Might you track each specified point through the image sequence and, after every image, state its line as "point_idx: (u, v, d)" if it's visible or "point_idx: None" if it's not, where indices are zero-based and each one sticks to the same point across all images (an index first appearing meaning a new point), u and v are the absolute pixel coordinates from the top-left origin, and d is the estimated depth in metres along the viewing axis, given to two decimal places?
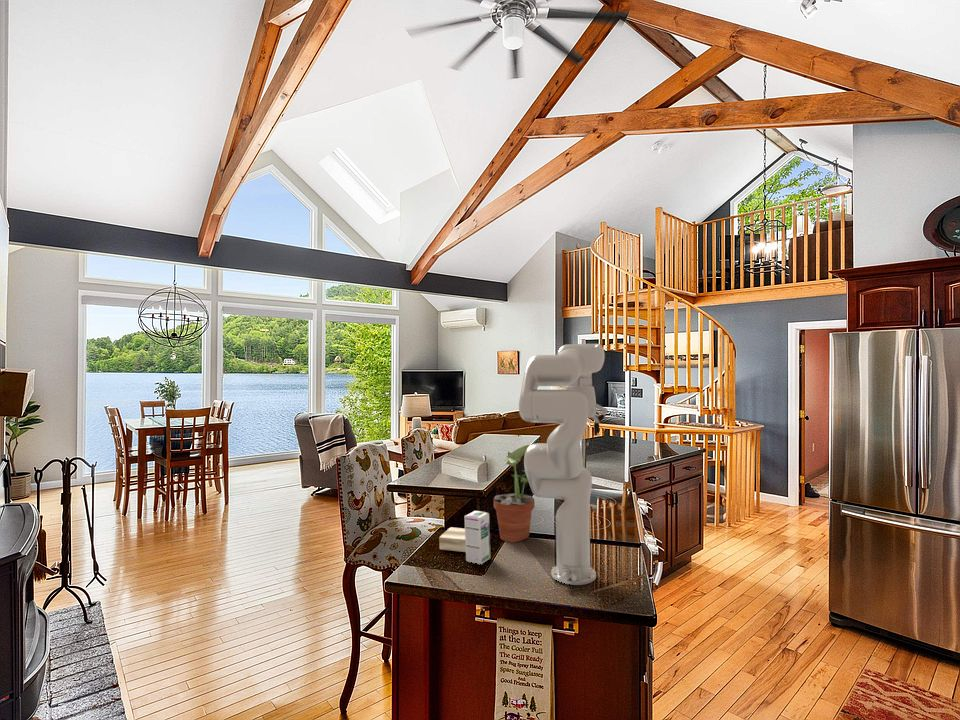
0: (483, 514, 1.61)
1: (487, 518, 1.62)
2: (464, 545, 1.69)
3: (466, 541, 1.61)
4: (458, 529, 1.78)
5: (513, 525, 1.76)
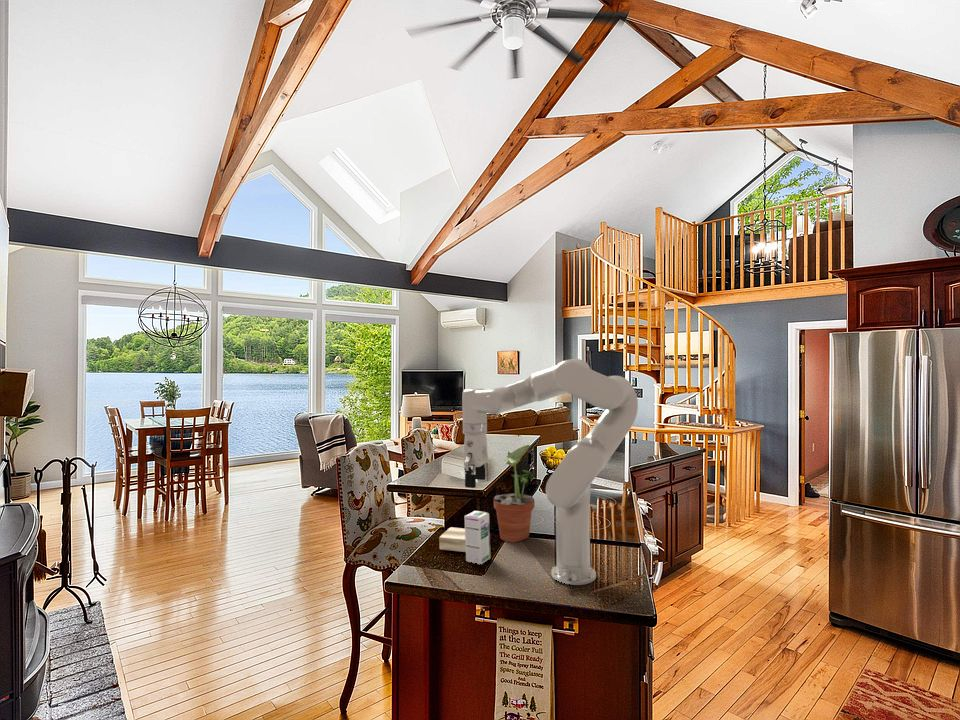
0: (483, 514, 1.61)
1: (487, 518, 1.62)
2: (464, 545, 1.69)
3: (466, 541, 1.61)
4: (458, 529, 1.78)
5: (513, 525, 1.76)
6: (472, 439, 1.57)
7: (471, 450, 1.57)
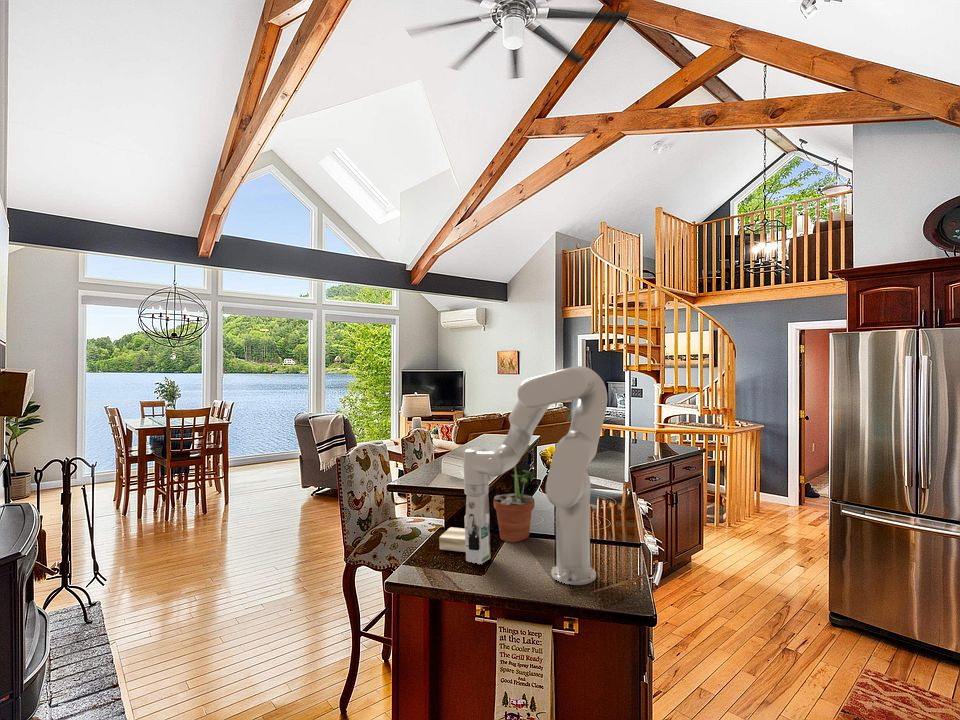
0: None
1: (487, 518, 1.62)
2: (464, 545, 1.69)
3: (466, 541, 1.61)
4: (458, 529, 1.78)
5: (513, 525, 1.76)
6: (474, 500, 1.57)
7: (473, 511, 1.57)
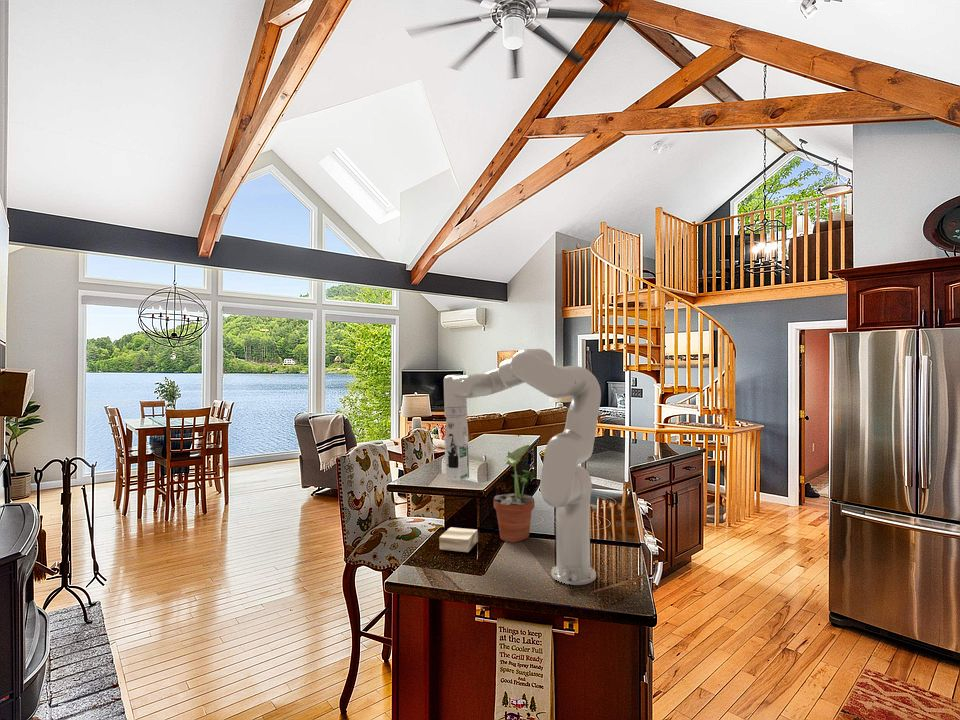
0: None
1: (465, 440, 1.74)
2: (464, 545, 1.69)
3: (446, 461, 1.73)
4: (458, 529, 1.78)
5: (513, 525, 1.76)
6: (453, 421, 1.69)
7: (452, 431, 1.69)
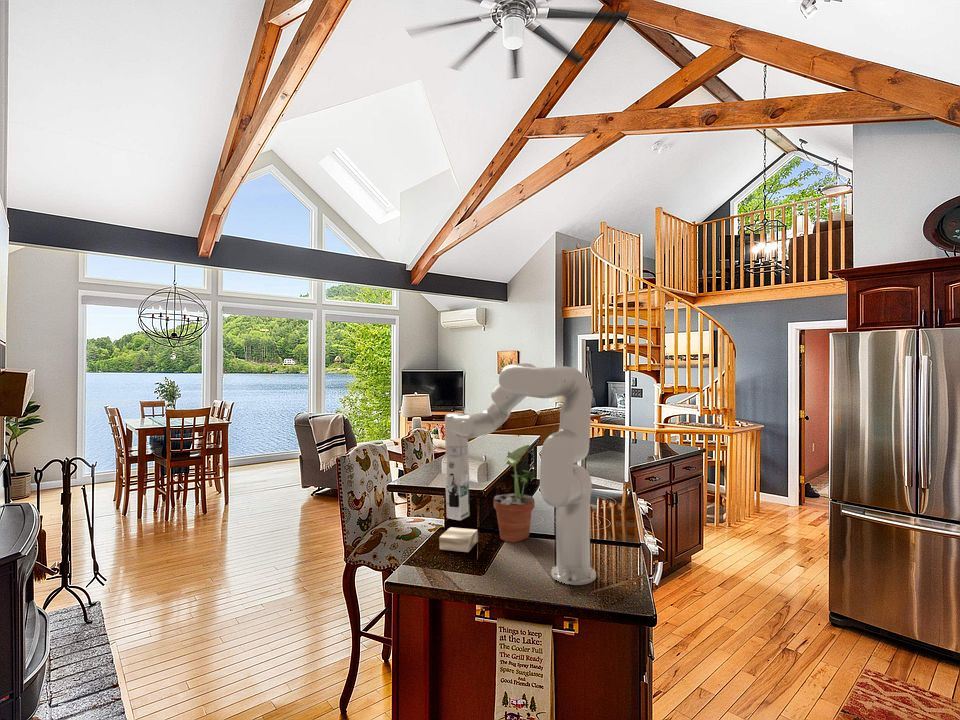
0: None
1: (466, 478, 1.74)
2: (464, 545, 1.69)
3: (447, 499, 1.73)
4: (458, 529, 1.78)
5: (513, 525, 1.76)
6: (454, 461, 1.69)
7: (453, 471, 1.69)
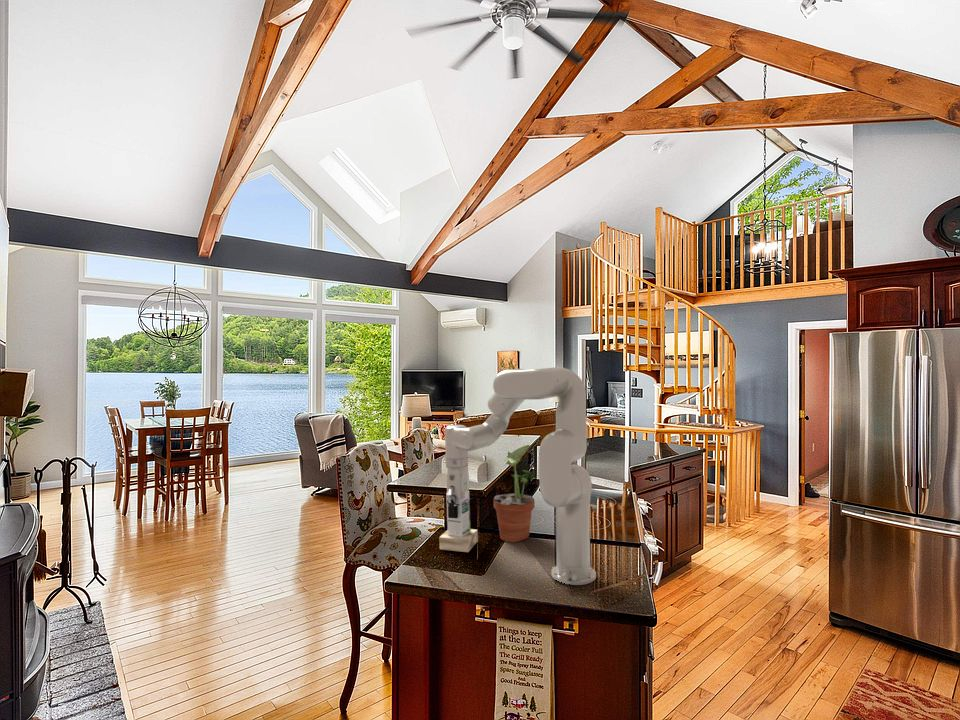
0: None
1: (467, 494, 1.74)
2: (464, 545, 1.69)
3: None
4: None
5: (513, 525, 1.76)
6: (454, 473, 1.70)
7: (453, 483, 1.69)
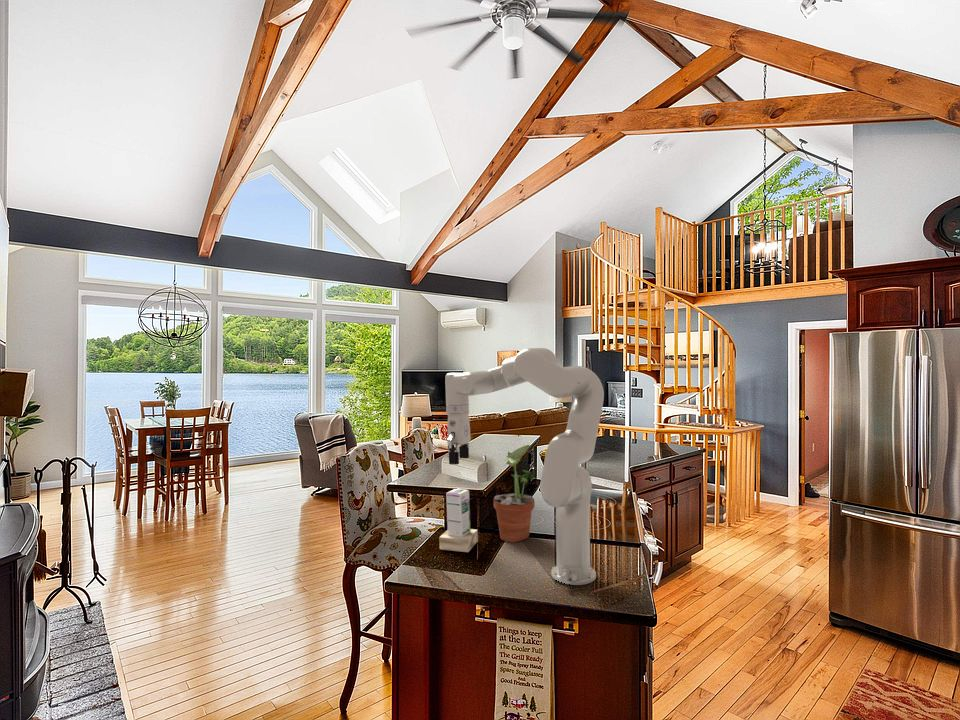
0: (463, 491, 1.74)
1: (467, 494, 1.74)
2: (464, 545, 1.69)
3: (448, 516, 1.73)
4: None
5: (513, 525, 1.76)
6: (455, 419, 1.68)
7: (454, 429, 1.68)
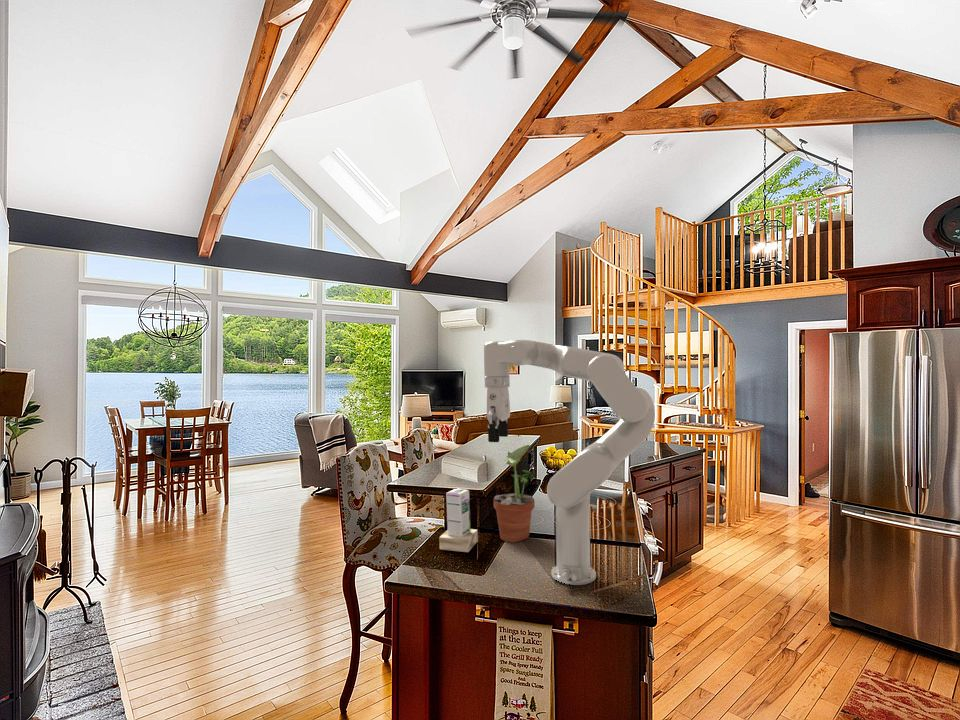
0: (463, 491, 1.74)
1: (467, 494, 1.74)
2: (464, 545, 1.69)
3: (448, 516, 1.73)
4: None
5: (513, 525, 1.76)
6: (495, 392, 1.52)
7: (494, 403, 1.52)
